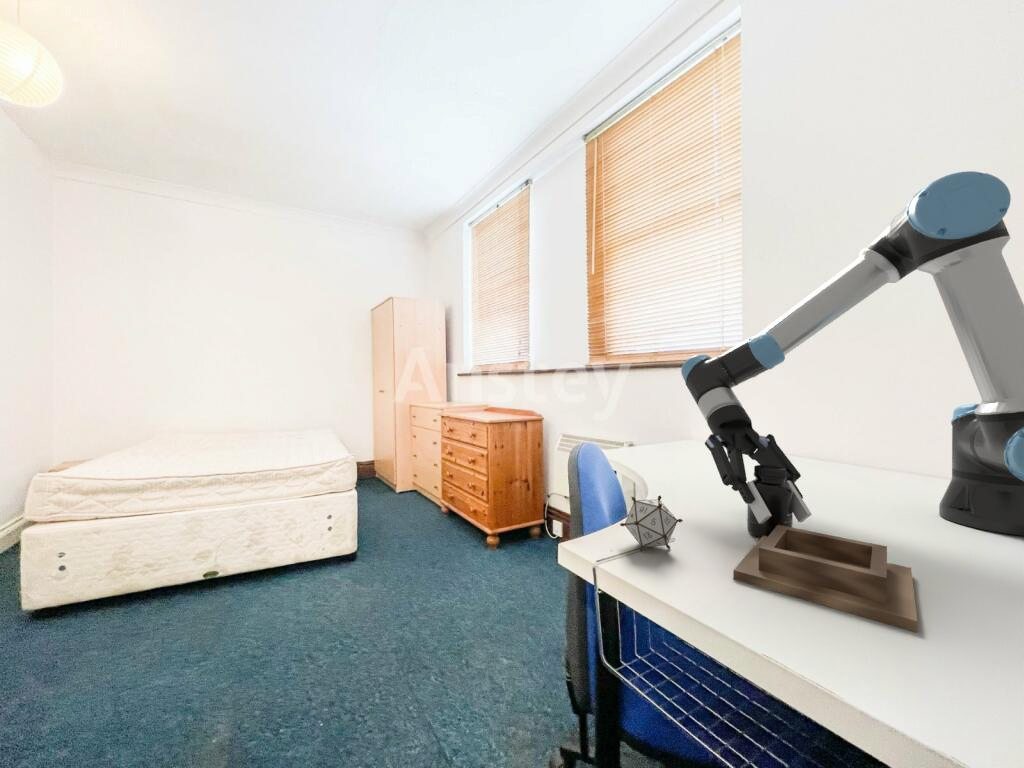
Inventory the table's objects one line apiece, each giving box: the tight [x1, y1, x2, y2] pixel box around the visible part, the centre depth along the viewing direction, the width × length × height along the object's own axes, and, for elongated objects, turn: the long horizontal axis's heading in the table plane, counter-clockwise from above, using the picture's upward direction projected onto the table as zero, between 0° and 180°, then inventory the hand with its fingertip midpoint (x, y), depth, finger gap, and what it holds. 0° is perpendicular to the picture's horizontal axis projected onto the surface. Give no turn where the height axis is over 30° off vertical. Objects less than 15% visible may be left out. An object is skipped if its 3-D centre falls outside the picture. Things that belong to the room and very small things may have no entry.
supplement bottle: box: [746, 464, 794, 539], centre depth 74 cm, size 7×7×12 cm
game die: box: [619, 495, 684, 551], centre depth 68 cm, size 9×8×10 cm
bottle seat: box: [732, 525, 918, 633], centre depth 58 cm, size 18×18×4 cm
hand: (785, 518), depth 71 cm, fingers closed on supplement bottle, 7 cm apart
